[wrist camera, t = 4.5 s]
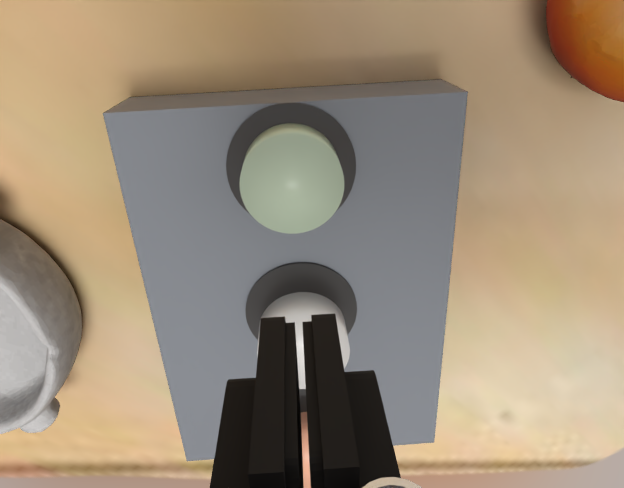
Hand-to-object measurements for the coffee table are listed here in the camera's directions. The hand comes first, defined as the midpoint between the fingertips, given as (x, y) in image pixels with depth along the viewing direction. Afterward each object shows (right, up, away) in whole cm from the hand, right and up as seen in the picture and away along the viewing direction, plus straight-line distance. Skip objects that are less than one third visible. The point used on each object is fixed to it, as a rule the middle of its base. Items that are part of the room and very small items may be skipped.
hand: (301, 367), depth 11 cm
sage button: (-1, +6, +11) cm, 13 cm away
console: (-1, +1, +19) cm, 19 cm away
